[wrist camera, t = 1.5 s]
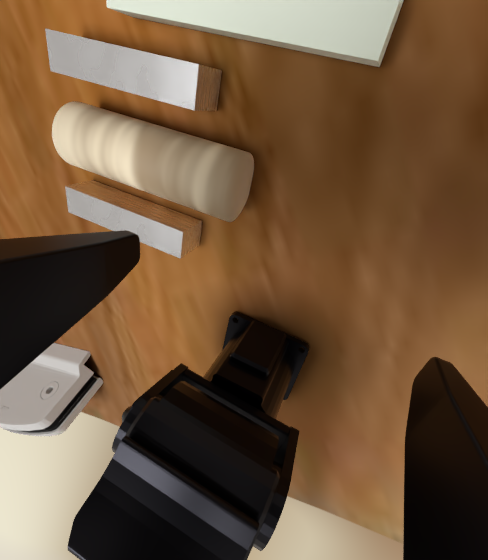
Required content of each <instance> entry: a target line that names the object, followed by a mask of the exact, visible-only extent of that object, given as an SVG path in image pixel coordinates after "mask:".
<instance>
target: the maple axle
mask: <svg viewBox="0 0 488 560" xmlns="http://www.w3.org/2000/svg"><path fill="white" fill-rule="evenodd" d="M52 137H53V142H54V146H55V148H56V150H57V152H58V154H59V155H60V156H61V158H62V159H63V160H65V161H66V162H67V163H69V164H71V165H74V166H76V167H79V168H82V169H85V170H87V171H90V172H93V173H96V174H98V175H101V176H104V177H107V178H109V179H112V180H115V181H118V182H120V183H123V184H126V185H129V186H131V187H134V188H137V189H139V190H142V191H145V192H148V193H150V194H153V195H156V196H159V197H161V198H164V199H167V200H170V201H172V202H175V203H178V204H181V205H183V206H186V207H189V208H192V209H194V210H197V211H200V212H203V213H205V214H208V215H211V216H214V217H216V218H219V219H222V220H225V221H227V222H232V221H234V220H235V219H236V218H237V217H238V216H239V214H240V213H241V211H242V210H243V208H244V206H245V204H246V201H247V199H248V196H249V192H250V187H251V182H252V177H253V173H254V159H253V156H252V154H251V153H249V152H246V151H243V150H239V149H236V148H232V147H229V146H226V145H222V144H219V143H216V142H212V141H209V140H206V139H202V138H199V137H196V136H192V135H189V134H186V133H182V132H179V131H175V130H172V129H169V128H165V127H162V126H159V125H155V124H152V123H149V122H145V121H142V120H139V119H135V118H132V117H129V116H125V115H122V114H119V113H115V112H112V111H108V110H105V109H102V108H98V107H95V106H92V105H88V104H85V103H82V102H69V103H67V104H65V105H64V106H62V107H61V108H60V109H59V111H58V112H57V114H56V116H55V118H54V121H53V125H52Z"/></svg>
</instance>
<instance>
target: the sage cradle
mask: <svg viewBox="0 0 488 560" xmlns="http://www.w3.org/2000/svg"><path fill="white" fill-rule="evenodd" d="M403 1H404V0H107V8H110V9H112V10H115V11H118V12H120V13H123V14H126V15H128V16H131V17H134V18H139V19H144V20H149V21H154V22H159V23H163V24H168V25H173V26H178V27H183V28H188V29H193V30H198V31H203V32H208V33H213V34H218V35H223V36H228V37H233V38H238V39H243V40H248V41H253V42H257V43H262V44H267V45H272V46H277V47H282V48H287V49H292V50H297V51H302V52H307V53H312V54H317V55H322V56H327V57H332V58H337V59H342V60H346V61H351V62H356V63H361V64H366V65H371V66H376V67H380V65H381V62H382V59H383V56H384V54H385V51H386V48H387V45H388V43H389V40H390V37H391V34H392V32H393V29H394V26H395V23H396V21H397V18H398V15H399V12H400V10H401V7H402V4H403Z"/></svg>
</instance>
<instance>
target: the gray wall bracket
mask: <svg viewBox="0 0 488 560" xmlns="http://www.w3.org/2000/svg"><path fill="white" fill-rule="evenodd" d="M90 355H91V354H90V352H89V351H85V350H81V349H77V348H73V347H68V346H64V345H60V344H56V343H53V344H52V345H51V346H50V347H48V348H47V349H46V350H45V351H44V352H43V353H42V354H40V355H39V356H38V357H37V358H36V359H35V360H34V361H32V362H31V363H30V364H29V365H28V366H27V367H26V368H24V369H23V370H22V371H21V372H20V373H19V374H18V375H16V376H15V377H14V378H13V379H12V380H11V381H10V382H8V383H7V384H6V385H5V386H4V387H3V388H2V389H0V427H1V428H3V429H5V430H8V431H10V432H14V433H19V434H24V435H32V436H52V435H59V434H62V433H63V432H64V431H65V430H66V429H67V428H68V427H69V426H70V424H71V423H72V422H73V420H74V419H75V418H76V417H77V416H78V414H79V413H80V412H81V410H82V409H83V408H84V407H85V405H86V404H87V403H88V402H89V400H90V399H91V398H92V397H93V395H94V394H95V393H96V392H97V390H98V389H99V388H100V387H101V385H102V384H103V380H102V379H101V378H99V377H96V376H92V375H93V374H94V372H92V371H91V370H90V369H88V368H87V367H86V366H84V364H85V362H86V361H87V360H88V358H89V357H90Z"/></svg>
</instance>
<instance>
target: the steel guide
mask: <svg viewBox="0 0 488 560" xmlns="http://www.w3.org/2000/svg"><path fill="white" fill-rule="evenodd" d="M45 30H46V38H47V46H48V54H49V62H50V70H51V71H53V72H56V73H60V74H64V75H67V76H71V77H75V78H78V79H82V80H85V81H89V82H93V83H96V84H100V85H104V86H107V87H111V88H115V89H118V90H122V91H125V92H129V93H133V94H136V95H140V96H144V97H147V98H151V99H154V100H158V101H162V102H165V103H169V104H173V105H176V106H180V107H184V108H187V109H191V110H195V111H217V105H218V97H219V90H220V82H221V74H222V70H219V69H215V68H211V67H207V66H203V65H200V64H195V63H191V62H187V61H183V60H178V59H174V58H170V57H165V56H161V55H157V54H152V53H148V52H144V51H140V50H135V49H131V48H127V47H122V46H118V45H114V44H109V43H105V42H101V41H97V40H92V39H88V38H84V37H79V36H75V35H71V34H66V33H62V32H58V31H54V30H49V29H45ZM65 188H66V195H67V203H68V211H69V213H72V214H74V215H77V216H79V217H81V218H84V219H86V220H89V221H91V222H94V223H96V224H98V225H101V226H103V227H106V228H108V229H110V230H113V231H124V230H127V231H130V232H133V233H135V234H137V235H138V236H139V238H140V242H142V243H144V244H147V245H149V246H151V247H154V248H156V249H159V250H161V251H164V252H166V253H168V254H171V255H173V256H176V257H178V258H180V259H181V258H182V257H183V256H185V255H186V254H188V253H189V252H191V251H192V250H194V249H195V248H197V247H198V246H199V244H200V236H201V229H202V221H201V220H198V219H196V218H193V217H190V216H188V215H185V214H182V213H180V212H177V211H174V210H172V209H169V208H166V207H164V206H161V205H158V204H155V203H153V202H150V201H147V200H145V199H142V198H139V197H137V196H134V195H131V194H129V193H126V192H123V191H121V190H118V189H115V188H113V187H110V186H107V185H104V184H102V183H99V182H96V181H94V180H91V181H87V182H82V183H78V184H73V185H69V186H65Z"/></svg>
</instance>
